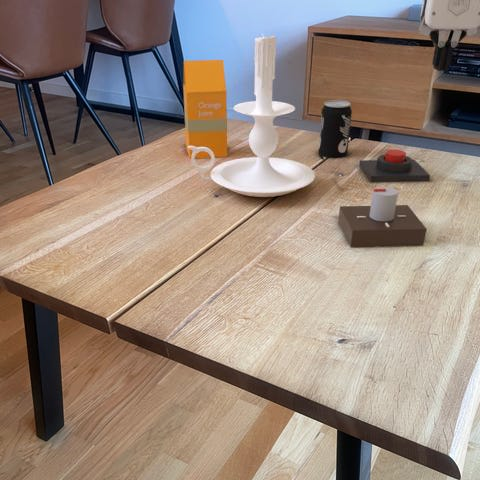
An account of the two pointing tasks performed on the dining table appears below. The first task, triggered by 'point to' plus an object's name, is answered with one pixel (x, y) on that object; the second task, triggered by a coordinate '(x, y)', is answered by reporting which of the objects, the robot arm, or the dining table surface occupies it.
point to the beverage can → (334, 129)
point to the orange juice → (205, 107)
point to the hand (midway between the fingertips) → (440, 69)
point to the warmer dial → (383, 203)
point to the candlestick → (260, 140)
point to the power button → (395, 156)
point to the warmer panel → (381, 228)
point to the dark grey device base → (393, 170)
